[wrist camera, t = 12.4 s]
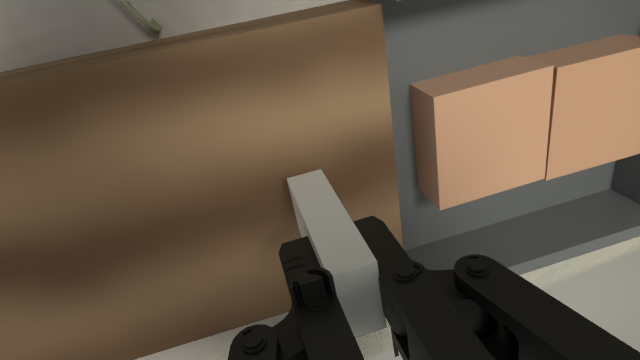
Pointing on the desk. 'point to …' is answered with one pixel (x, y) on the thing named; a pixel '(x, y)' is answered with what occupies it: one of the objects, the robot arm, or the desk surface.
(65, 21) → the desk surface
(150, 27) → the eyeglasses
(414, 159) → the tray
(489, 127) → the tile
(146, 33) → the desk surface
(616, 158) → the tile
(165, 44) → the wooden plank
